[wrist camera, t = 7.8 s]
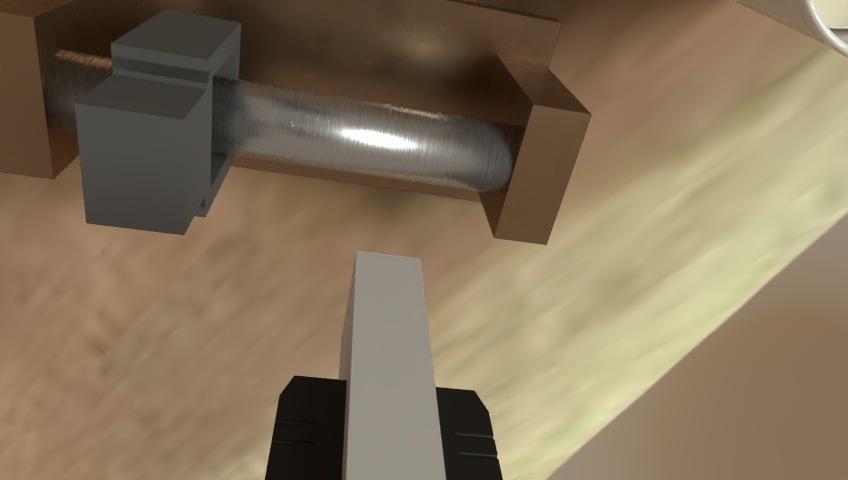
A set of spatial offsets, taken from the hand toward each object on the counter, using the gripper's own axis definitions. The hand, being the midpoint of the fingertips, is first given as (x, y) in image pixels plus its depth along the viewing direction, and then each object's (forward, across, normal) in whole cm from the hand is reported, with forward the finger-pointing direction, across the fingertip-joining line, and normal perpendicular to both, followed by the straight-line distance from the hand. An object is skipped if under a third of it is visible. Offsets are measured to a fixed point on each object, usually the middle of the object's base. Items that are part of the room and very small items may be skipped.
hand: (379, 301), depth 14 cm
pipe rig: (+19, -3, -1) cm, 19 cm away
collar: (+15, -7, -1) cm, 17 cm away
